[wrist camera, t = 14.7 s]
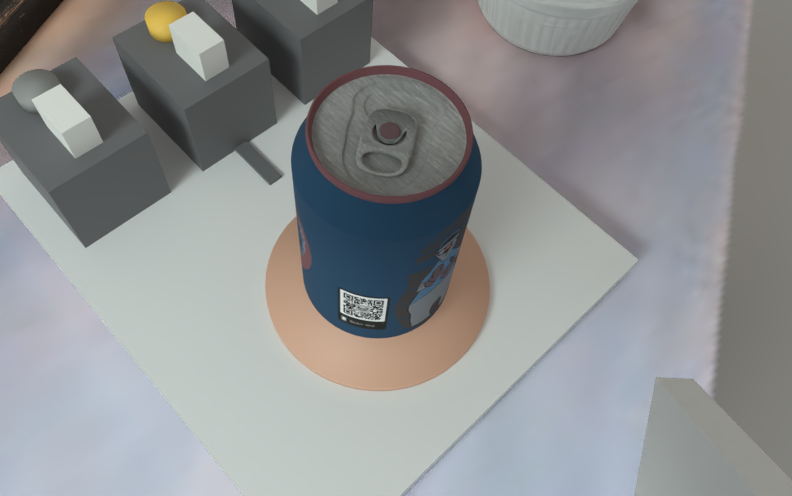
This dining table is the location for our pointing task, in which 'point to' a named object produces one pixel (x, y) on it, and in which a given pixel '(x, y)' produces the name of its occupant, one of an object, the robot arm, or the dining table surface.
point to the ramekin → (556, 23)
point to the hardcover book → (21, 24)
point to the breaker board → (279, 250)
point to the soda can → (383, 197)
